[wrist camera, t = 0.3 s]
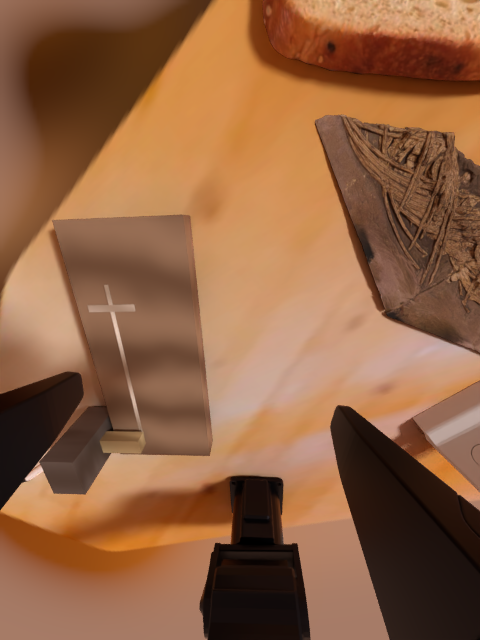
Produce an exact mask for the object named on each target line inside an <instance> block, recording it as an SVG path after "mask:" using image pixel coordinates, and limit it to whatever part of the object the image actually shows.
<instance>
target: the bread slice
mask: <svg viewBox="0 0 480 640" xmlns="http://www.w3.org/2000/svg"><path fill="white" fill-rule="evenodd" d="M263 18H264V24H265V27H266V30H267V33H268V36H269V39H270V42H271V44H272V46H273V48H274V49H275V50H276V51H277V52H278V53H280V54H282V55H283V56H285V57H287V58H289V59H298V60H301V61H303V62H305V63H307V64H311V65H317V66H321V67H323V68H326V69H328V70H331V71H348V72H352V73H356V74H365V73H376V74H381V75H398V76H406V77H413V78H424V79H435V80H451V81H460V80H468V81H469V80H480V0H263Z"/></svg>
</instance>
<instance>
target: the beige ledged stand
mask: <svg viewBox="0 0 480 640" xmlns="http://www.w3.org/2000/svg"><path fill="white" fill-rule="evenodd" d="M413 419H414V421H415V422H416V423H417V425H418V426H419V427H420V428H421V430H422V431H423V432H424V433H425V437H426V440H427V441H428V442H429V443H430V444H431V445H432V446H433V447H434V448H435V449H436V450H437V451H438V452H439V453H440V454H441V455H442V456H443V457H444V458H446V459H447V460H448V461H449V462H450V463H451V464H452V465H453V466H454V467H455V468H456V469H457V470H458V471H459V472H460V473H461V474H462V475H463V476H464V477H465V478H466V479H467V480H468V481H469V482H470V483H471V484H472V485H473V486H474V487H475V488H476V489H477V490H478V491H479V492H480V381H478V382H476V383H475V384H473V385H471V386H469V387H467V388H466V389H464V390H462V391H460V392H458V393H456V394H455V395H453V396H451V397H449V398H447V399H446V400H444V401H442V402H440V403H438V404H437V405H435V406H433V407H431V408H429V409H427V410H426V411H424V412H422V413H420V414H418V415H417V416H415V417H413Z"/></svg>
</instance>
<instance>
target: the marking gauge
mask: <svg viewBox="0 0 480 640" xmlns="http://www.w3.org/2000/svg"><path fill="white" fill-rule="evenodd" d="M145 444H146V442H145V438H144V434H143V432H119V431H114V430H113V427H112V424H111V420H110V417H109V413H108V410H107V407H88V408H87V410H86V411H85V412H84V413H83V414H82V415H81V416H80V417H79V418H78V420H77V421H76V422H75V423H74V424H73V425H72V426H71V427H70V428H69V429H68V431H67V432H66V433H65V434H64V435H63V436H62V437H61V438H60V439H59V441H58V442H57V443H56V444H55V445H54V446H53V447H52V448H51V449H50V450H49V452H48V453H47V454H46V455H45V456H44V457H43V458H42V459H41V460H40V465H41V467H42V469H43V471H44V473H45V475H46V478H47V480H48V482H49V484H50V486H51V488H52V490H53V493H57V494H86V493H87V491H88V490H89V488H90V486H91V485H92V483H93V482H94V480H95V478H96V477H97V475H98V474H99V472H100V470H101V469H102V467H103V466H104V464H105V462H106V461H107V459H108V458H109V456H110V454H111V453H138V454H141V452H142V450H143V448H144V446H145Z"/></svg>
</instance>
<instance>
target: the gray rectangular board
mask: <svg viewBox="0 0 480 640" xmlns="http://www.w3.org/2000/svg"><path fill="white" fill-rule="evenodd" d="M52 222H53V225H54V228H55V232H56V235H57V239H58V242H59V246H60V249H61V252H62V256H63V259H64V263H65V266H66V270H67V273H68V276H69V280H70V283H71V287H72V290H73V294H74V297H75V300H76V304H77V307H78V311H79V314H80V317H81V321H82V324H83V328H84V331H85V335H86V338H87V341H88V345H89V348H90V352H91V355H92V359H93V362H94V365H95V369H96V372H97V376H98V379H99V382H100V386H101V389H102V393H103V396H104V400H105V403H106V406H107V410H108V413H109V417H110V420H111V424H112V427H113V430H114V431H119V432H143V434H144V438H145V442H146V444H145V446H144V448H143V450H142V452H141V454H145V455H193V456H210V452H211V446H212V441H213V440H212V430H211V420H210V410H209V400H208V390H207V380H206V370H205V360H204V350H203V340H202V330H201V320H200V310H199V300H198V290H197V280H196V271H195V261H194V251H193V241H192V231H191V221H190V216H188V215H167V216H142V217H117V218H92V219H68V220H52ZM120 454H138V453H120Z"/></svg>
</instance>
